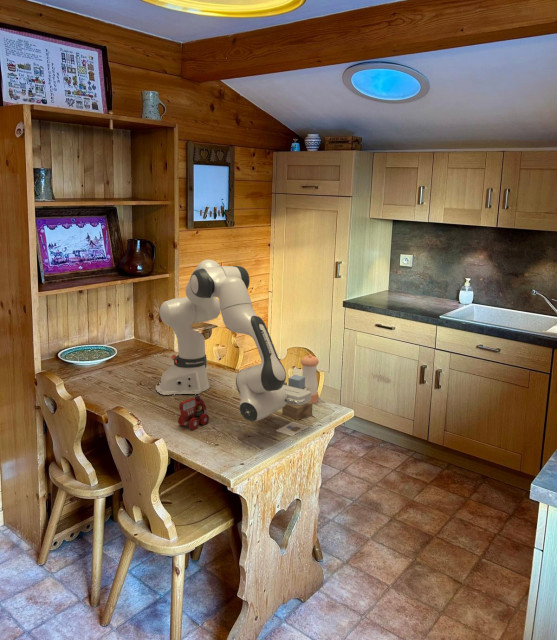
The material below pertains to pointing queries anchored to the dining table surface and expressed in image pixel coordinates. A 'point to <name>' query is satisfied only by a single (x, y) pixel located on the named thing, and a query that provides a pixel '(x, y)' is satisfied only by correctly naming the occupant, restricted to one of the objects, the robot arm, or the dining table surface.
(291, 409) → the walnut block
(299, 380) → the gray brick
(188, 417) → the toy fire truck
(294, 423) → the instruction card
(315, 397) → the pepper shaker
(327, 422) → the dining table surface
